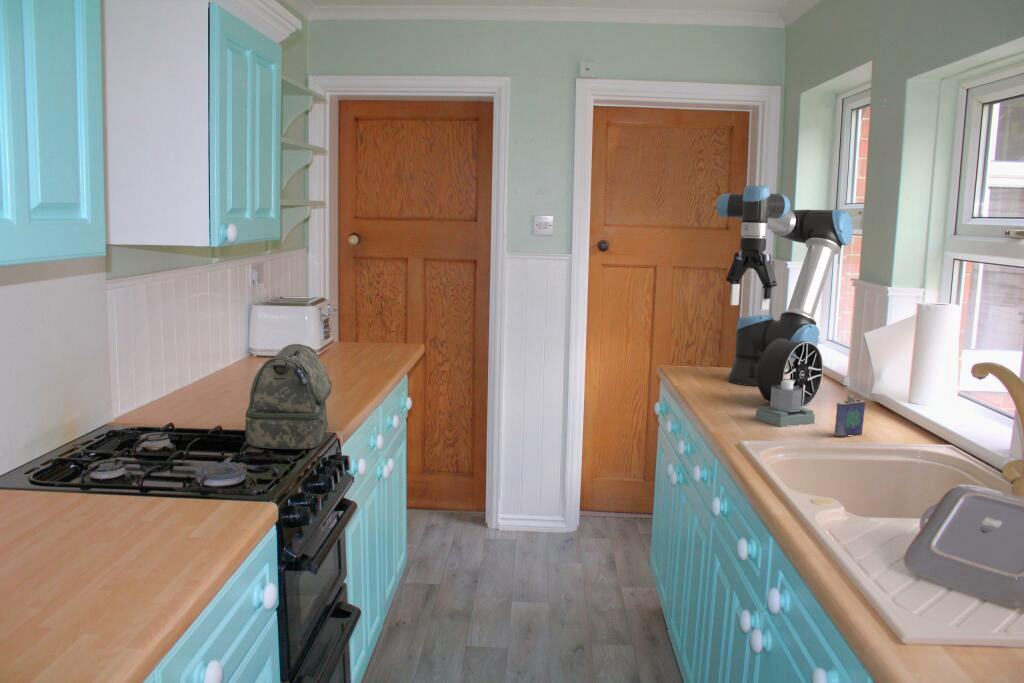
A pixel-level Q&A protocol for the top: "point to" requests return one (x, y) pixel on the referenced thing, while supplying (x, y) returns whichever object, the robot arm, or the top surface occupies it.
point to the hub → (786, 398)
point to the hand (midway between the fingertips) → (748, 307)
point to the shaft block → (785, 413)
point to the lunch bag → (289, 401)
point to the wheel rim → (791, 368)
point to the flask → (849, 417)
